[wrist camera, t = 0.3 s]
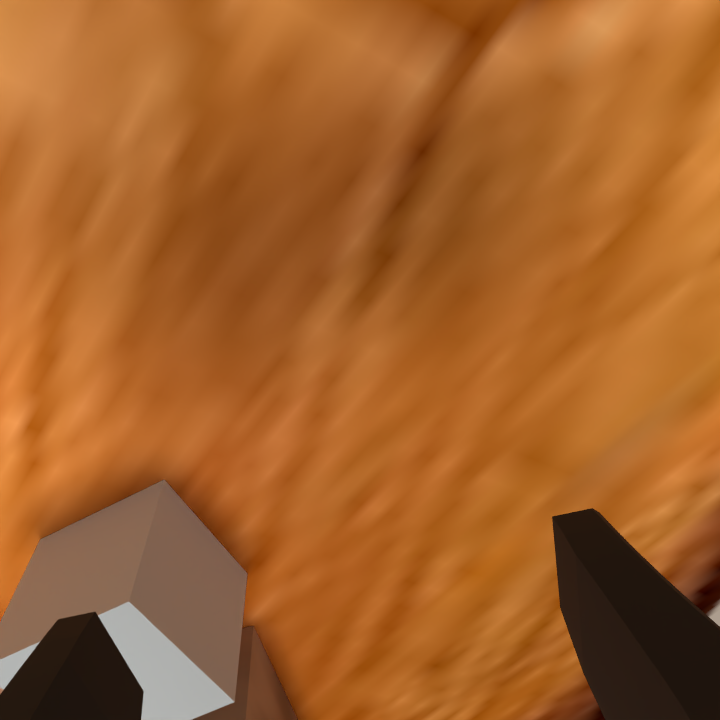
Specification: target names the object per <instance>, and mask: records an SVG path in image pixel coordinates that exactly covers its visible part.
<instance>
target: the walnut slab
mask: <svg viewBox="0 0 720 720" xmlns="http://www.w3.org/2000/svg"><path fill="white" fill-rule="evenodd" d="M192 720H298V719H297V717H296V715H295V713H294V711H293V708H292V706H291V704H290V702H289V700H288V698H287V696H286V694H285V692H284V689H283V687H282V685H281V683H280V681H279V679H278V677H277V675H276V672H275V670H274V668H273V666H272V664H271V662H270V660H269V658H268V655H267V653H266V651H265V649H264V647H263V645H262V643H261V641H260V638H259V636H258V634H257V632H256V630H255V628H254V626H250V627H246V628H242V634H241V644H240V654H239V664H238V674H237V684H236V694H235V702H233V703H231V704H229V705H226V706H224V707H221V708H219V709H216V710H214V711H211V712H209V713H206V714H204V715H202V716H199V717H197V718H194V719H192Z"/></svg>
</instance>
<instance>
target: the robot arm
mask: <svg viewBox="0 0 720 720" xmlns="http://www.w3.org/2000/svg"><path fill="white" fill-rule="evenodd" d="M552 519H553V530H554V542H555V553H556V564H557V576H558V587H559V598H560V608H561V611H562V614H563V616H564V619H565V622H566V625H567V628H568V631H569V634H570V637H571V639H572V642H573V645H574V648H575V651H576V653H577V656H578V659H579V662H580V665H581V667H582V670H583V673H584V675H585V677H586V679H587V682H588V684H589V686H590V688H591V690H592V692H593V694H594V697H595V699H596V701H597V703H598V705H599V707H600V709H601V712H602V714H603V716H604V718H605V720H720V627H719V626H718V625H717V624H716V623H715V622H714V621H713V620H711V619H710V618H709V617H708V616H707V615H706V614H705V613H704V612H702V611H701V610H700V609H699V608H698V607H697V606H696V605H694V604H693V603H692V602H691V601H690V600H689V599H688V598H686V597H685V596H684V595H683V594H682V593H681V592H680V591H679V590H677V589H676V588H675V587H674V586H673V585H672V584H671V583H670V582H669V581H668V580H667V579H666V578H664V577H663V576H662V575H661V574H660V573H659V572H658V571H657V570H656V569H655V568H654V567H653V566H652V565H651V564H650V563H649V562H648V561H647V560H646V559H645V558H643V557H642V556H641V555H640V554H639V553H638V552H637V551H636V550H635V549H634V548H633V547H632V546H631V545H630V544H629V543H628V542H627V541H626V540H625V539H624V538H623V537H622V536H621V535H620V534H619V533H618V532H617V531H616V530H615V528H614V527H613V526H612V525H611V524H610V523H609V522H608V521H607V520H606V519H605V518H604V517H603V516H602V515H601V514H600V513H599V512H597V511H596V510H594V509H593V508H592V509H587V510H582V511H577V512H572V513H568V514H563V515H558V516H553V517H552ZM143 694H144V691H143V689H142V688H141V686H140V684H139V683H138V681H137V679H136V678H135V676H134V674H133V673H132V671H131V669H130V668H129V666H128V664H127V663H126V661H125V660H124V658H123V656H122V655H121V653H120V651H119V650H118V648H117V646H116V645H115V643H114V641H113V640H112V638H111V636H110V635H109V633H108V631H107V630H106V628H105V627H104V625H103V623H102V622H101V620H100V618H99V617H98V615H97V613H96V612H90V613H86V614H81V615H76V616H71V617H66V618H61V619H58V620H57V621H56V622H55V624H54V625H53V626H52V627H51V629H50V630H49V631H48V632H47V634H46V635H45V636H44V637H43V639H42V640H41V641H40V643H39V644H38V645H37V646H36V648H35V649H34V650H33V652H32V653H31V654H30V656H29V657H28V658H27V660H26V661H25V662H24V663H23V665H22V666H21V667H20V669H19V670H18V671H17V673H16V674H15V675H14V677H13V678H12V679H11V681H10V682H9V683H8V685H7V686H6V687H5V689H4V690H3V691H2V693H1V694H0V720H141V716H142V705H143Z"/></svg>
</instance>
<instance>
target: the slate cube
mask: <svg viewBox="0 0 720 720" xmlns="http://www.w3.org/2000/svg"><path fill="white" fill-rule="evenodd" d="M246 584H247V573H246V571H245V570H244V569H243V568H242V567H241V566H240V565H239V563H238V562H237V561H236V560H235V559H234V558H233V557H232V556H231V554H230V553H229V552H228V551H227V550H226V549H225V548H224V546H223V545H222V544H221V543H220V542H219V541H218V540H217V539H216V537H215V536H214V535H213V534H212V533H211V532H210V531H209V530H208V528H207V527H206V526H205V525H204V524H203V523H202V522H201V520H200V519H199V518H198V517H197V516H196V515H195V514H194V513H193V511H192V510H191V509H190V508H189V507H188V506H187V505H186V504H185V502H184V501H183V500H182V499H181V498H180V497H179V496H178V494H177V493H176V492H175V491H174V490H173V489H172V488H171V487H170V485H169V484H168V483H167V482H166V481H165V480H162V481H160V482H158V483H156V484H154V485H152V486H150V487H148V488H146V489H144V490H141V491H139V492H137V493H135V494H133V495H131V496H129V497H127V498H125V499H123V500H121V501H119V502H117V503H115V504H112V505H110V506H108V507H106V508H104V509H102V510H100V511H98V512H96V513H94V514H92V515H90V516H88V517H86V518H84V519H81V520H79V521H77V522H75V523H73V524H71V525H69V526H67V527H65V528H63V529H61V530H59V531H57V532H55V533H52V534H50V535H48V536H46V537H44V538H42V539H40V541H39V543H38V545H37V547H36V549H35V551H34V553H33V556H32V558H31V560H30V562H29V564H28V566H27V568H26V570H25V572H24V574H23V576H22V578H21V580H20V582H19V584H18V586H17V589H16V591H15V593H14V595H13V597H12V599H11V601H10V603H9V605H8V607H7V609H6V611H5V613H4V615H3V617H2V619H1V622H0V688H2V689H3V690H4V689H5V687H6V686H7V685H8V683H9V682H10V681H11V679H12V678H13V677H14V675H15V674H16V673H17V671H18V670H19V669H20V667H21V666H22V665H23V663H24V662H25V661H26V660H27V658H28V657H29V656H30V654H31V653H32V652H33V650H34V649H35V648H36V646H37V645H38V644H39V643H40V641H41V640H42V639H43V637H44V636H45V635H46V634H47V632H48V631H49V630H50V629H51V627H52V626H53V625H54V624H55V622H56V621H57V620H58V619H61V618H66V617H71V616H76V615H81V614H86V613H90V612H96V613H97V615H98V617H99V618H100V620H101V622H102V623H103V625H104V627H105V628H106V630H107V631H108V633H109V635H110V636H111V638H112V640H113V641H114V643H115V645H116V646H117V648H118V650H119V651H120V653H121V655H122V656H123V658H124V660H125V661H126V663H127V664H128V666H129V668H130V669H131V671H132V673H133V674H134V676H135V678H136V679H137V681H138V683H139V684H140V686H141V688H142V689H143V691H144V694H143V705H142V716H141V720H192V719H194V718H197V717H199V716H202V715H204V714H206V713H209V712H211V711H214V710H216V709H219V708H221V707H224V706H226V705H229V704H231V703H233V702H235V694H236V684H237V674H238V664H239V654H240V644H241V634H242V624H243V614H244V604H245V594H246Z"/></svg>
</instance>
